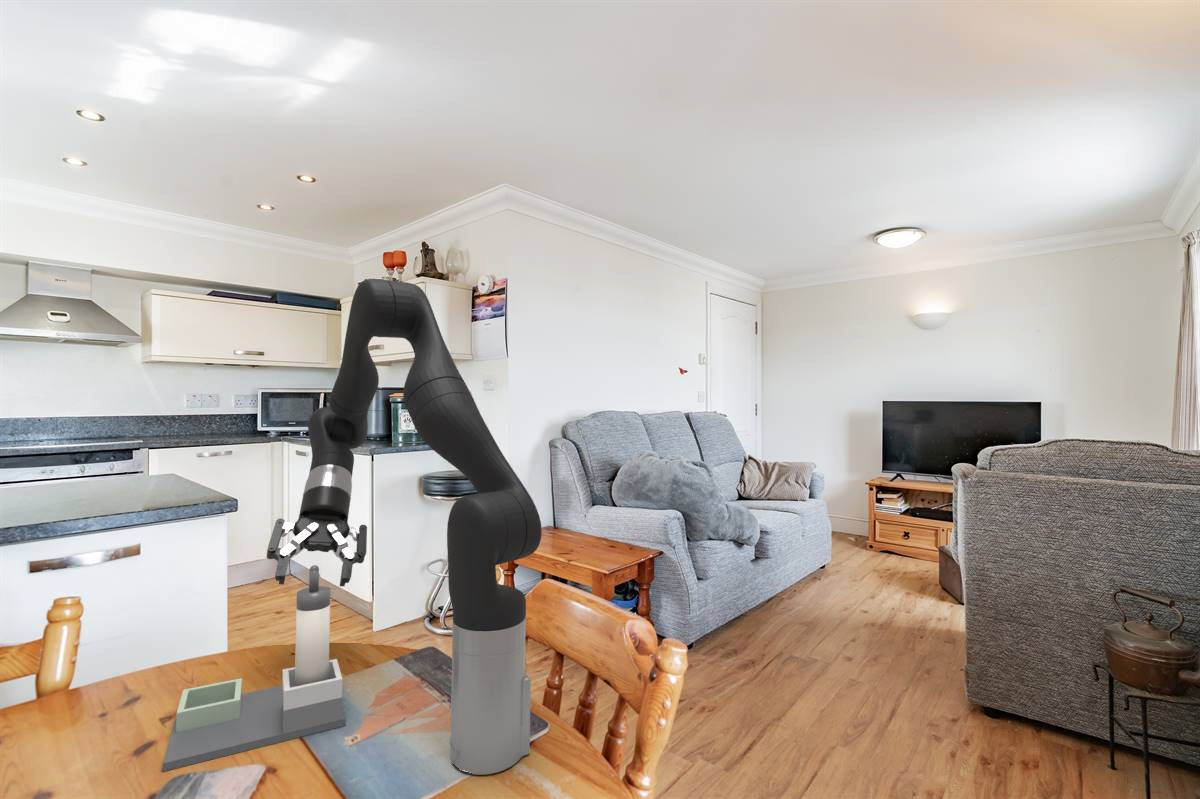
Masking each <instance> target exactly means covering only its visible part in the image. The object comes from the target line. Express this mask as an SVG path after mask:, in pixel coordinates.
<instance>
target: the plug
mask: <svg viewBox="0 0 1200 799" xmlns="http://www.w3.org/2000/svg"><path fill="white" fill-rule="evenodd" d="M319 583H320V567H319V566H318V565H316V564H314V565H311V566H310V567H309V577H308V587H306V588H303V589H299V590H298V591H297V592H296V609H295V610H296V611H295V612H296V613H295V614H296V616H295V619H296V620H295V649H294V650H295V652H294V654H295V655H294V657H295V658H294V664H295V665H294V667H295V687H296V686H301V685H305V684H310V683H315V682H320V681H324V680H329V660H330V635H331V634H330V629H331V628H330V626H331V588H330V586H329V587H328V586H320V584H319Z"/></svg>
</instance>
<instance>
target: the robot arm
mask: <svg viewBox="0 0 1200 799" xmlns="http://www.w3.org/2000/svg"><path fill="white" fill-rule="evenodd" d="M348 314H349V316H348V321H347V324H346V325H347V326H346V332H345V338H344V345H343V351H342V359H341V364H340V366H339V368H340V369H339V371H338V373H337V374H338V375H337V377H336V379H335V382H334V383H333V387H332V390H331V393H330V395H329V398H328V406H329V407H328V406H327V407H326V406H323V407H319V408H317V409H316V410H315V411H314V412H312V414H311V415H310V416H309V419H308V424H307V431H308V438H309V443H310V447H311V448H310V449H311V454H312V455H311V463H310V469H309V474H308V476H307V479H306V482H305V485H304V488H303V493H302V499H301V500H302V501H301V504H300V510H299V514H298V519H297V521H296V522H295V523H291V522H286V521H285V519H284V518H281V517H280V518H278V519H276V520H275V522H274V526H273V530H272V533H271V536H270V538H269V542H268V546H267V550H266V558H267V560H273V559H274V560H275V561H277V565H276V570H275V573H274V574H275V575H274V580H275V581H276V582H277V581H278V585H283V586H284V585H285V580H286V576H287V571H288V565H289V561H290V560H291V559H292V558H293V557H295V556H297V555H299V554H300V553H301V552H302V551H303V550H307V552H318V551H319V552H323V553H329V552H330V551H332V552H333V554H334V555H335V556H336V558H339V559H340V561H341V562H342V566H341V570H340V571H341V573H340V579H339V580H340V581H339V587H345V586H346V584H348V583H350V580H351V578H352V573H353V565H354V564H363V563H364V561H365V557H366V555H367V542H368V526H367V525H366V524H361V525H360V526H359V527H350V525H349V523H348V520H349V513H350V512H349V511H350V508H351V507H350V506H351V500H352V489H353V481H352V478H353V470H354V463H355V457H354V452H353V450H355V449H357V448H360V447H361V446H362V445H363V444H364V443H365V441H366V440H367V436H368V430H369V428H368V427H369V425H368V424H369V423H368V414H369V410H370V406H371V404H372V402H373V400H374V397H375V395H376V393H377V390H378V387H379V379H380V377H379V372H378V369H377V367H376V364H375V361H374V360H373V358H372V356H371V354H370V351H369V344H370V342H371V340H372V339H373V337H376V338H394V339H395V338H396V339H397V338H398V339H405V340H406V341H407V342H409V343H410V345H411V348H412V350H413V353H414V358H413V362H412V363H411V366H410V368H409V370H408V372H407V376H406V378H405V379H406V380H405V382H404V386H403V393H402V395H403V396H402V397H403V402H404V404H405V407H406V410H407V412H408V415H409V417H410V419H411V422H412V424H413V426H414V428H415V430H416V433H417V434H418V436H419V437H420V438H421V440H422V441H423V442H424V443H425V444H426V445H427V446H428V447H430V449H432V451H434V452H435V453H436V454H437V455H438V456H440V457H441V458H442V459H444V460H445V461H447V462H448V463H449V464H450V465H451V466H453V467H454V468H456V469H457V470H458V471H459V472H460V473H462V474H463V476H464V477H465V478H467V479H468V481H469V482H470V483H471V485H472V486H473V488H474V489H475V491H476V493H473V494H472V493H471V494H467V495H463V496H461V497H459V498H458V499H456V501H455V502H453V504H452V507H451V508H450V512H449V515H448V518H447V529H446V546H447V549H446V551H447V572H448V575H447V576H448V578H447V579H448V583H447V584H448V592H449V599H450V602H451V603H450V604H451V608H452V634H451V635H452V636H451V639H452V641H451V644H452V645H451V647H452V649H451V693H450V694H451V695H450V696H451V697H450V706H451V707H450V739H449V746H450V754H449V755H450V756H449V757H450V761H452V762H453V763H452V762H451V763H452V765H453V764H454V765H455V766H456V767H457V768H456V767H455V766H454V765H453V766H454V767H455V768H456V769H458V768H459V769H461V770H465V771H468V772H471V773H472V774H471V775H477V776H478V775H479V776H481V775H492V774H496V773H500V772H502V771H505V770H507V769H509V768H511V767H513V766H514V765H515V764H517V763H518V762H519V760H520V759H522V758H523V757H524V756H527V755H529V754H530V752H531V751H530V744H531V740H530V739H531V699H532V698H531V695H532V694H531V693H532V692H531V691H532V690H531V688H532V686H531V685H532V684H531V683H532V682H531V681H532V680H531V678H530V677H529V675H527V672H526V621H527V617H526V616H527V599H526V596H525V594H524V593H523V592H522V591H521V590H520V589H518V588H516V587H513V586H509V585H507V584H506V585H505V584H500V583H498V580H497V569H496V568H497V567H496V566H498V565H502V564H506V563H510V562H513V561H517V560H521V559H524V558H527V557H529V556H531V555H533V554H534V553H535V552H536V551H537V550H538V548H539V546H540V544H541V540H542V530H543V529H542V521H541V517H540V515H539V512H538V509H537V506H536V504H535V502H534V500H533V499H532V497H531V495H530V493H529V491H528V490H527V489H526V487H525V485H524V484H523V482H522V481H521V479H520V478H519V477H518V475H517V473H516V472H515V471H514V469H513V467H512V465H511V464H509V462H508V459H506V457H505V455H504V454H503V452H502V451H501V449H500V447H499V446H498V444H497V442H496V440H495V438H494V437H493V435H492V434H493V433H491V431H490V429H489V427H488V425H487V424H486V422H485V420H484V418H483V416H482V414H481V413H480V409H479V408H478V406H477V403H476V401H475V399H474V397H473V395H472V393H471V391H470V389H469V387H468V385H467V383H466V381H465V380H464V379H463V377H462V375H461V373H460V371H459V369H458V367H457V366H456V364H455V362H454V359H453V358H452V355H451V353H450V351H449V349H448V347H447V344H446V342H445V340H444V337H443V336H442V333H441V330H440V327H439V324H438V322H437V318H436V316H435V312H434V310H433V308H432V305H431V303H430V301H429V298H428V296H427V294H426V293H425V292H424V290H423V289H422V288H421V287H420V286H419V285H417V284H414V283H412V282H405V281H397V280H389V279H377V278H367V279H364V280H362V281H361V282H360V283H359V284H358V285H357V287H356V289H355V292H354V294H353V296H352V300H351V305H350V309H349V313H348ZM290 532H292V533H293V535H294V537H293V538H292V540H290V542H289V543H288V544H287V545H285V546H284V547H283V548H280V547H279V546H280V542H281V540H282V538H285V537H286V536H287V535H288V534H289V533H290ZM349 536H351V538H352V540H353V541H354V542H356V550H355V551H354V552H353V551H352V549H351V548H350V546H349V545H348V541H346V539H347V538H348V537H349ZM459 769H458V770H459ZM461 770H460V771H461Z"/></svg>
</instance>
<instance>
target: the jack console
mask: <svg viewBox="0 0 1200 799" xmlns="http://www.w3.org/2000/svg"><path fill="white" fill-rule="evenodd" d="M281 673H282V676H281V677H282V678H281V680H282V681H281V683H282V684H280V685H278V686H273V687H268V688H264V689H259V690H254V691H250V692H249V691H248V692H244V693H242V692H243V691H242V690H243V678H237V679H232V680H231V679H230V680H226V681H220V682H216V683H211V684H206V685H200V686H196V687H191V688H185V689H183V690H182V693H181V696H180V700H179V703H178V707H177V711H176V717H175V720H174V722H173V727H172V731H171V733H170V737H169V741H168V744H167V748H166V750H165V751H166V752H165V754H164V758H163V761H162V772H163V773H164V772H167V771H172V770H175V769H179V768H185V767H187V766H192V765H195V764H199V763H203V762H207V761H211V760H216V759H219V758H223V757H227V756H231V755H235V754H239V753H242V752H247V751H251V750H255V749H258V748H263V747H266V746H270V745H273V744H279V743H282V742H286V741H291V740H294V739H298V738H302V737H305V736H310V735H314V734H318V733H321V732H325V731H330V730H333V729H337V728H341V727H345V726H346V720H347V719H346V714H345V710H344V707H343V677H342V676H343V675H342V672H341V668H340V665H339V660H338V658H334V659H329V680H324V681H320V682H315V683H310V684H305V685H301V686H296V687H295V666H294V667H289V668H283V669H282V672H281Z"/></svg>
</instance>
